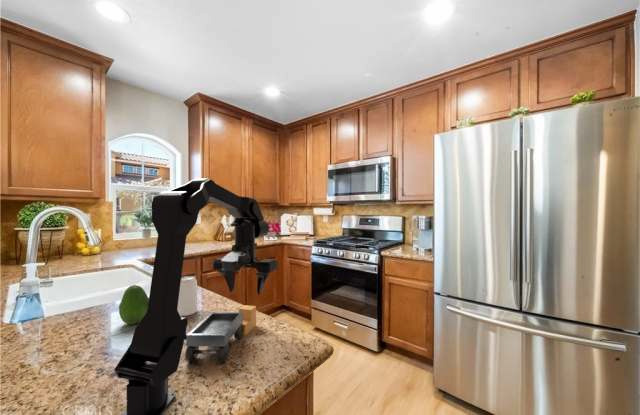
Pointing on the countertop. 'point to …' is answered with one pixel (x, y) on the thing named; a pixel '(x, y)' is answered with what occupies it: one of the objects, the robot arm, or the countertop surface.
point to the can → (187, 296)
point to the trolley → (214, 335)
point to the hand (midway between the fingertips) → (245, 293)
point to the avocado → (133, 305)
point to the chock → (248, 318)
